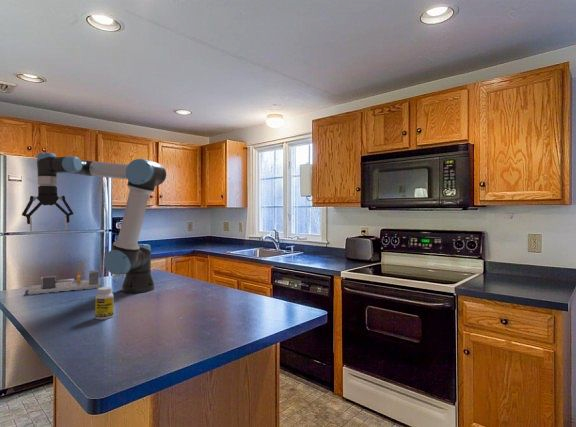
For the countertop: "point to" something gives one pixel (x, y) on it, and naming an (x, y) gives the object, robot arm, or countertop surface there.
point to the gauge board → (69, 285)
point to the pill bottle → (104, 303)
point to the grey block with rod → (51, 281)
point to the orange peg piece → (78, 277)
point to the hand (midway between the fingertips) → (49, 230)
